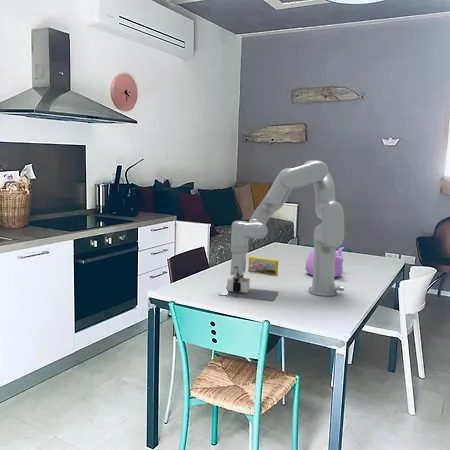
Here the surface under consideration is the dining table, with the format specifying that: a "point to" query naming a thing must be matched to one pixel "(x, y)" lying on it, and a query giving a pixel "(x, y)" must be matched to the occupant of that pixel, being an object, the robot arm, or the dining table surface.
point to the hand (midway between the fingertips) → (238, 289)
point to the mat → (255, 294)
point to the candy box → (263, 266)
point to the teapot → (337, 263)
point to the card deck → (244, 284)
